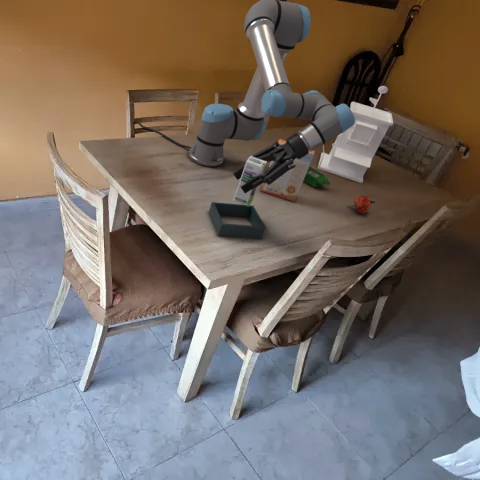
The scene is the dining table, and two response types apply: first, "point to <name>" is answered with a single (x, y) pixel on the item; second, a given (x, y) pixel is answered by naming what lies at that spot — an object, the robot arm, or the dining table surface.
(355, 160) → the white toy machine
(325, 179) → the snack package
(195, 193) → the dining table surface
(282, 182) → the cracker box
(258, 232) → the bin
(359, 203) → the pomegranate
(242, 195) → the syrup box
